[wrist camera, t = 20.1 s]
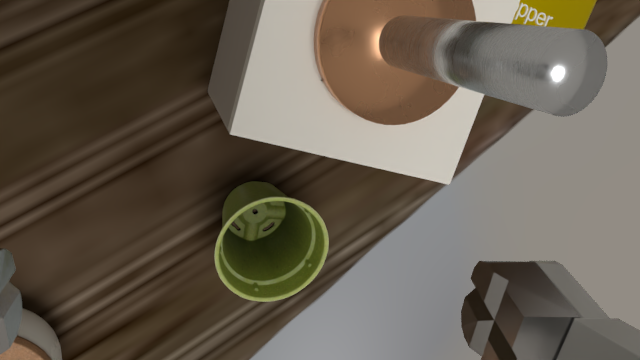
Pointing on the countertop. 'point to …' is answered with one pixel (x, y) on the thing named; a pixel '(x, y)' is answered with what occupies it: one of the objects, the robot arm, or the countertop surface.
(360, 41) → the peg
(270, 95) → the slotted white pedestal
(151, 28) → the countertop surface
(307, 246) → the plant pot
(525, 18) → the element tile
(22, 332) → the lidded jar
